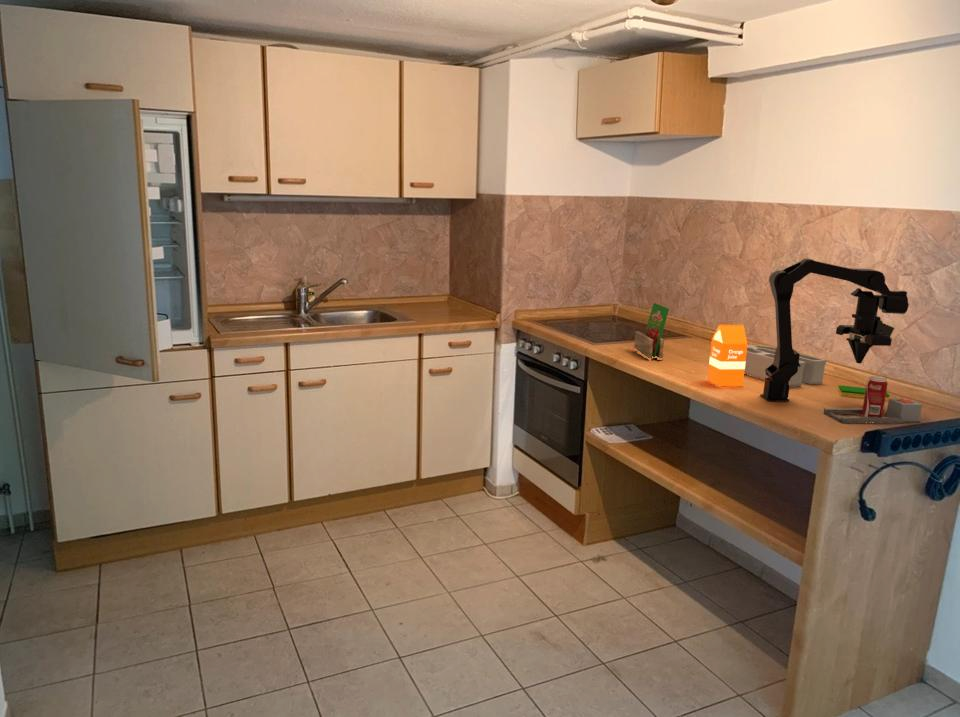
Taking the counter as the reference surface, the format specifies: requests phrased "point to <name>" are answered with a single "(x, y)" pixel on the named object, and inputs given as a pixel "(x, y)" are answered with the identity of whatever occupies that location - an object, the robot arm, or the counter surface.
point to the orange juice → (728, 356)
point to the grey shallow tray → (859, 419)
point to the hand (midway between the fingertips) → (858, 363)
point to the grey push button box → (904, 410)
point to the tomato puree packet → (656, 325)
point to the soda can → (874, 397)
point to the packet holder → (647, 345)
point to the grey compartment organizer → (764, 357)
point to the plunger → (905, 400)
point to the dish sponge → (855, 392)
